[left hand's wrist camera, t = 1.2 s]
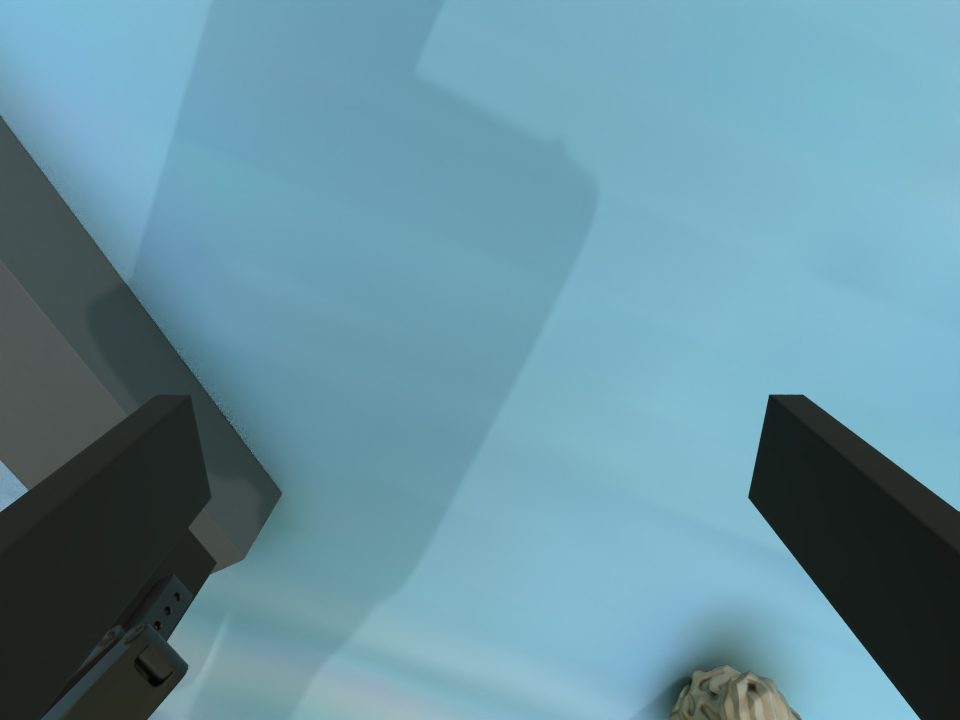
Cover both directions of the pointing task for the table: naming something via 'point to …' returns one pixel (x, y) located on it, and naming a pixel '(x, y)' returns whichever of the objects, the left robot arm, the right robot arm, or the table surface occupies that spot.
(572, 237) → the table surface
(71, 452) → the wide block
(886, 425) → the table surface
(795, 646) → the table surface
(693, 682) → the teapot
